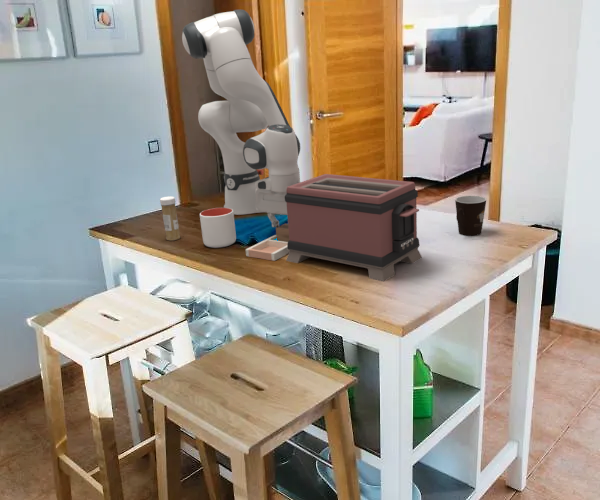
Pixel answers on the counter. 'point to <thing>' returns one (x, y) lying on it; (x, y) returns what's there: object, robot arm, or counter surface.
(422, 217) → the counter surface
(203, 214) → the cup
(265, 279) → the counter surface
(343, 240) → the toaster
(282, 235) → the walnut block
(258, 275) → the counter surface
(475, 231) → the coffee mug
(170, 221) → the sprinkles bottle
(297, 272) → the counter surface
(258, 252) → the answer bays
